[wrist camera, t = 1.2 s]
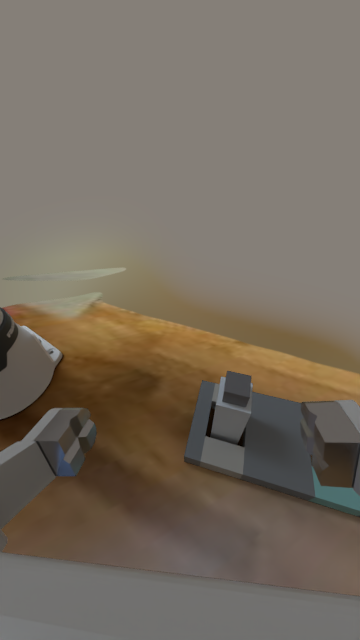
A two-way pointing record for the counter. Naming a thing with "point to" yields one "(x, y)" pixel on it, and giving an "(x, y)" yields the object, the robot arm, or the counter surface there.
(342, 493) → the panel
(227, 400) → the plug
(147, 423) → the counter surface
